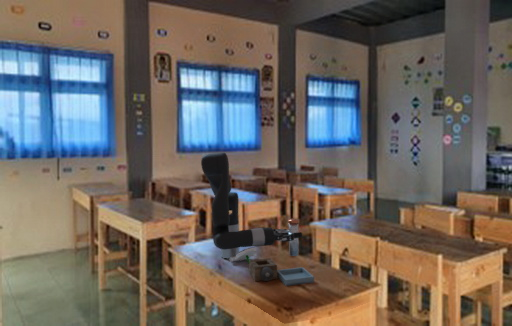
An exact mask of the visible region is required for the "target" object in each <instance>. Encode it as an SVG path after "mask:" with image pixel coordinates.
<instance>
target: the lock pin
mask: <svg viewBox="0 0 512 326" xmlns="http://www.w3.org/2000/svg"><path fill="white" fill-rule="evenodd" d="M287 223H288V230H289V233H297V232H299V224H300V219H299V218H288V219H287ZM290 237H291V236H290ZM288 253H289V254H288V255H289V256H292V257H297V256H299V238H294V240H292V241H288Z"/></svg>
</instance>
